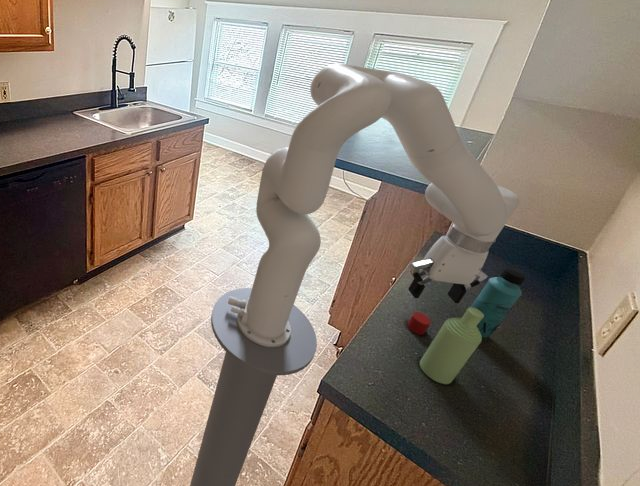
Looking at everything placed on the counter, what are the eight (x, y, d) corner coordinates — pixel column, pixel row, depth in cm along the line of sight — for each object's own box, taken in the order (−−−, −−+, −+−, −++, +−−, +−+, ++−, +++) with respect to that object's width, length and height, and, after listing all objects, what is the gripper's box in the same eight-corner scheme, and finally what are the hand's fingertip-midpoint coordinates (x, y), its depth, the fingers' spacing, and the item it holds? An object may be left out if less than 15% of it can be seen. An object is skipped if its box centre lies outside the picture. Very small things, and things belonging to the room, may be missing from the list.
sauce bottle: (422, 376, 83) (462, 317, 74) (417, 354, 88) (453, 296, 80) (456, 388, 81) (500, 329, 73) (448, 364, 87) (489, 306, 78)
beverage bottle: (451, 322, 98) (490, 263, 89) (471, 320, 100) (512, 261, 91) (474, 344, 93) (518, 282, 83) (495, 341, 94) (541, 280, 85)
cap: (422, 325, 97) (428, 314, 95) (427, 336, 93) (433, 326, 92) (405, 320, 98) (411, 310, 96) (409, 332, 94) (415, 321, 93)
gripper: (494, 233, 86) (457, 289, 94) (420, 223, 85) (389, 281, 93) (521, 254, 79) (478, 313, 87) (440, 244, 79) (405, 303, 87)
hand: (432, 296), depth 90 cm, fingers open, 9 cm apart
